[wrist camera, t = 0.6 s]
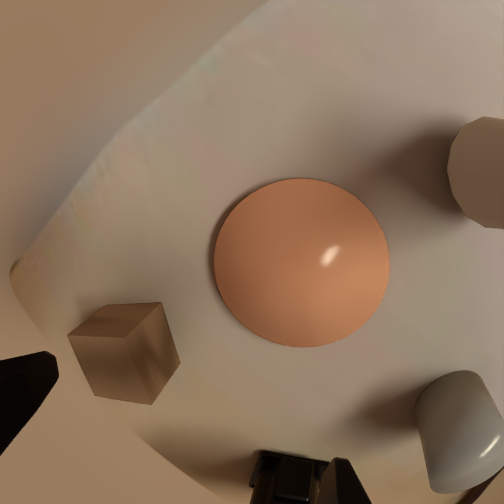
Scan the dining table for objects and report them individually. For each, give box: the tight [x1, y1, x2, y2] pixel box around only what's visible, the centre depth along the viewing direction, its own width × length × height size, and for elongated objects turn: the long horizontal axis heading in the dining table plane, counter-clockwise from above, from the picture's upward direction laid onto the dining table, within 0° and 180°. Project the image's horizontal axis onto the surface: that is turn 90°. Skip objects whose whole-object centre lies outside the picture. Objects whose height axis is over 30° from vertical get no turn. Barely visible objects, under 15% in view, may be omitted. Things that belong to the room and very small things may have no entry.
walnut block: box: [67, 302, 180, 405], centre depth 20 cm, size 5×5×5 cm
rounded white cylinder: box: [414, 370, 504, 494], centre depth 16 cm, size 6×6×7 cm
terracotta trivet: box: [214, 178, 390, 347], centre depth 18 cm, size 10×10×1 cm
